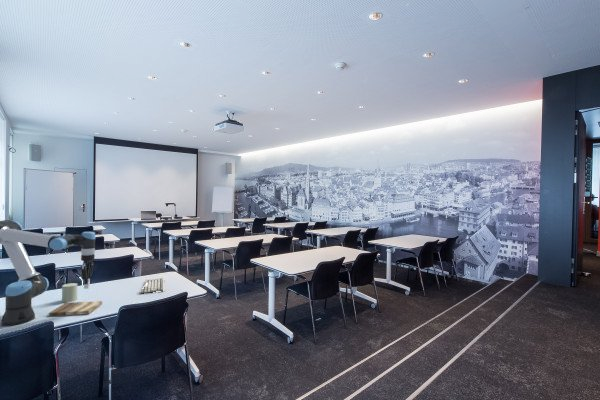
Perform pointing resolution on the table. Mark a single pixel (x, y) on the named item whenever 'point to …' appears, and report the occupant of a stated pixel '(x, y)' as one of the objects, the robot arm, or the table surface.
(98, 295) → the table surface
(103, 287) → the table surface
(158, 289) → the mechanical keyboard
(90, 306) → the oak plank
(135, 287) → the table surface
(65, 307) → the walnut board
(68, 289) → the can
